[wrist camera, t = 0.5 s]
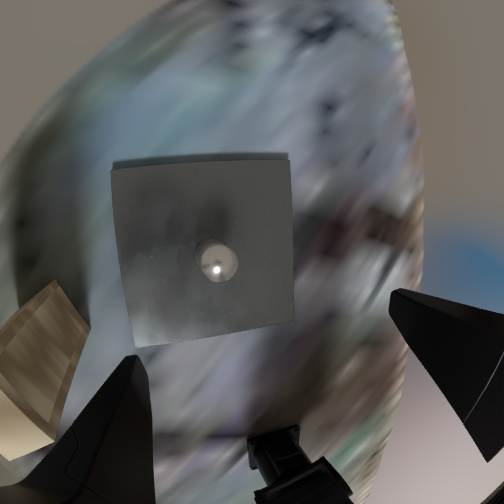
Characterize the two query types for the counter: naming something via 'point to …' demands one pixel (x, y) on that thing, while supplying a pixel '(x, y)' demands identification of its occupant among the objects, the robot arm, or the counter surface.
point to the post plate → (181, 224)
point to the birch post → (37, 369)
